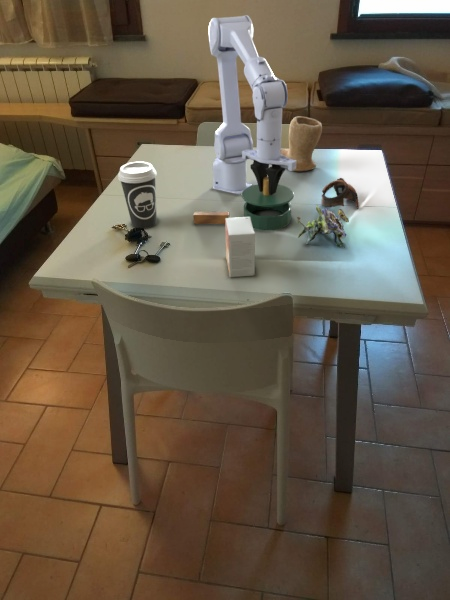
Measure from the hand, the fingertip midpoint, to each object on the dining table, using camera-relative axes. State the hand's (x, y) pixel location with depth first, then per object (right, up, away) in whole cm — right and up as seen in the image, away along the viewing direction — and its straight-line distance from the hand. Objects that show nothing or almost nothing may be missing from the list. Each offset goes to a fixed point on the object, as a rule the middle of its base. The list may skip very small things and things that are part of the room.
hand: (267, 191), depth 120 cm
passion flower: (+12, -14, -6) cm, 20 cm away
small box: (-7, -20, -13) cm, 25 cm away
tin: (0, -6, +5) cm, 8 cm away
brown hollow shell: (+21, -2, +11) cm, 23 cm away
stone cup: (+13, +16, +35) cm, 41 cm away
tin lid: (0, -1, +1) cm, 1 cm away
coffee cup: (-32, -7, +6) cm, 33 cm away
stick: (-14, -7, +4) cm, 16 cm away
